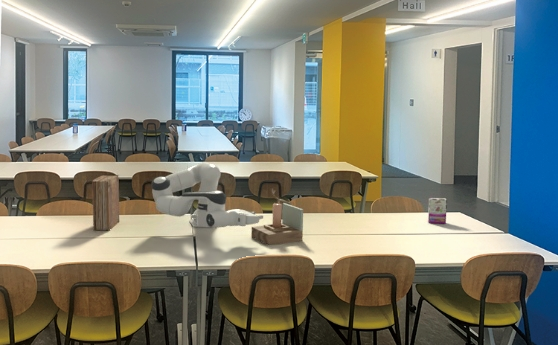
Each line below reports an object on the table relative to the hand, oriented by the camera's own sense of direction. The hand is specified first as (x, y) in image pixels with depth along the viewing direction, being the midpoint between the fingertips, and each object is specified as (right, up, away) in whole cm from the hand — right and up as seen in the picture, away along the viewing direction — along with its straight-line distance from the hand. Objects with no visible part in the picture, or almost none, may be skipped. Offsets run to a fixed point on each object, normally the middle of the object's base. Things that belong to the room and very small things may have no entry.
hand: (258, 215), depth 305 cm
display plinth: (+10, -14, +8) cm, 19 cm away
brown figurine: (+12, -11, +32) cm, 36 cm away
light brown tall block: (+10, -8, +7) cm, 15 cm away
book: (-94, -9, +30) cm, 99 cm away
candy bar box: (+116, -10, +58) cm, 129 cm away
